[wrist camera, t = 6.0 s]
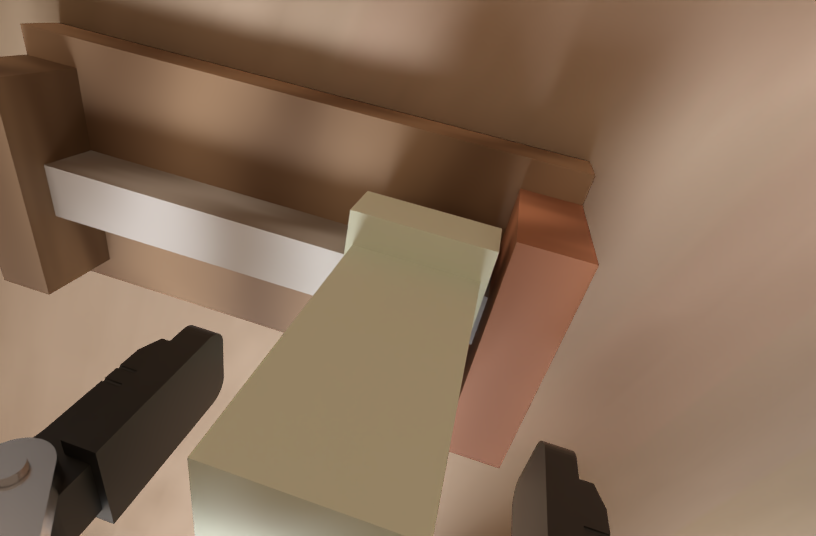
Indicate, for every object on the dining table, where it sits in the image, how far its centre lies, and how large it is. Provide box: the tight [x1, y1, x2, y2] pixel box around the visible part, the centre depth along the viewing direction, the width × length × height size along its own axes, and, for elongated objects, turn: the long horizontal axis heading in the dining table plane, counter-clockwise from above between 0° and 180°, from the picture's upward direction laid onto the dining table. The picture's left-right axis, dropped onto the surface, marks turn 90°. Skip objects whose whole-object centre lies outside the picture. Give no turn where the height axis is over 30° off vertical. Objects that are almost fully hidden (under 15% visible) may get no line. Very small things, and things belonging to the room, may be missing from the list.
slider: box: [188, 191, 502, 536], centre depth 12 cm, size 4×7×10 cm, turn 169°
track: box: [0, 23, 599, 468], centre depth 16 cm, size 20×10×6 cm, turn 79°
